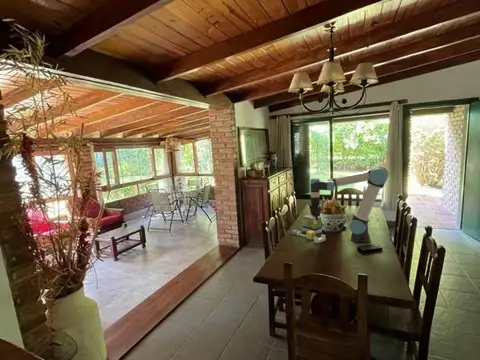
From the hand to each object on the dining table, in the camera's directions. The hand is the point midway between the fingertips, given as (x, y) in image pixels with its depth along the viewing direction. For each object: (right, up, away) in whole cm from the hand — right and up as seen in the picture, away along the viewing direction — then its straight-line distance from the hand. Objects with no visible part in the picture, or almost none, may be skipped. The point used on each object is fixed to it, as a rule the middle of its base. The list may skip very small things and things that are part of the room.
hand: (315, 223), depth 242 cm
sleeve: (-2, -14, +6) cm, 16 cm away
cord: (-5, -14, +10) cm, 17 cm away
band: (-10, -13, +18) cm, 25 cm away
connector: (-13, -13, +22) cm, 28 cm away
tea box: (+4, -11, +25) cm, 28 cm away
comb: (+3, -15, -2) cm, 15 cm away
